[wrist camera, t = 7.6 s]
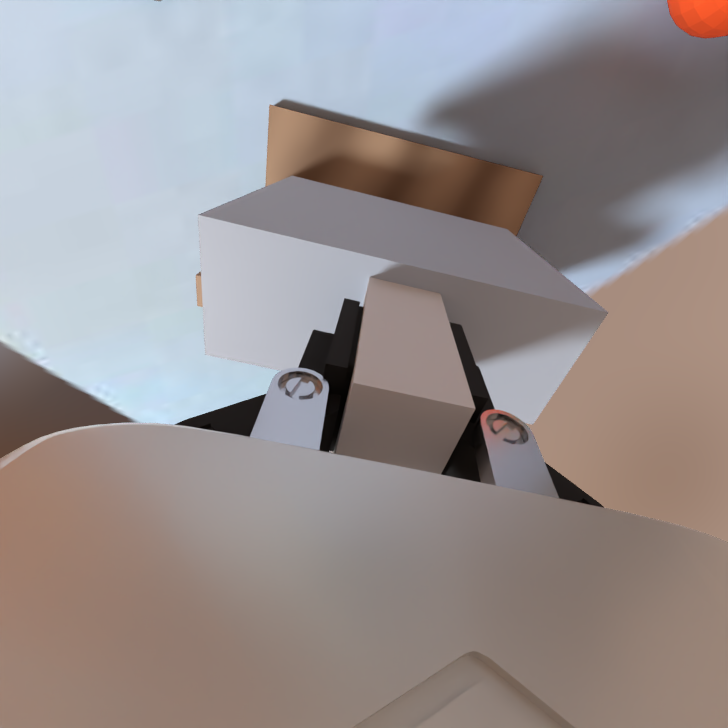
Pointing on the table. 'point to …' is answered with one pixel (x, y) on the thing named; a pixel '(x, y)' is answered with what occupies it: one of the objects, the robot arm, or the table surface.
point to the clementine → (700, 17)
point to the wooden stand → (394, 171)
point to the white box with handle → (390, 310)
